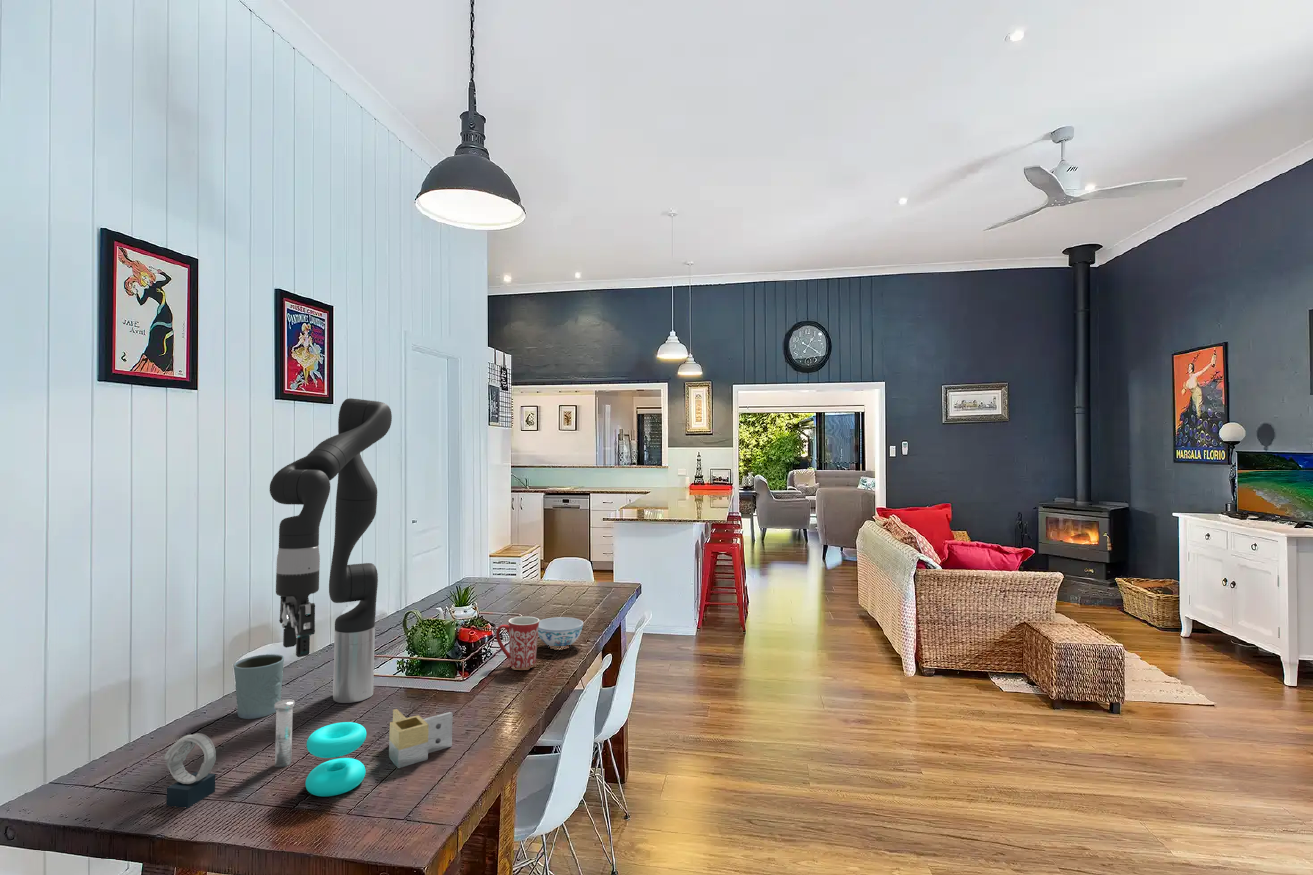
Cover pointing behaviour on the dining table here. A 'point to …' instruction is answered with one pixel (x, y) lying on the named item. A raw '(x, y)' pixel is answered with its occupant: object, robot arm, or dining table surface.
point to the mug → (521, 641)
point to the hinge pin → (283, 732)
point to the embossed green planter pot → (258, 685)
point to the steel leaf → (436, 741)
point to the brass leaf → (407, 730)
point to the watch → (188, 785)
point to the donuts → (340, 771)
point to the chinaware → (559, 630)
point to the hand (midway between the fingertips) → (295, 651)
